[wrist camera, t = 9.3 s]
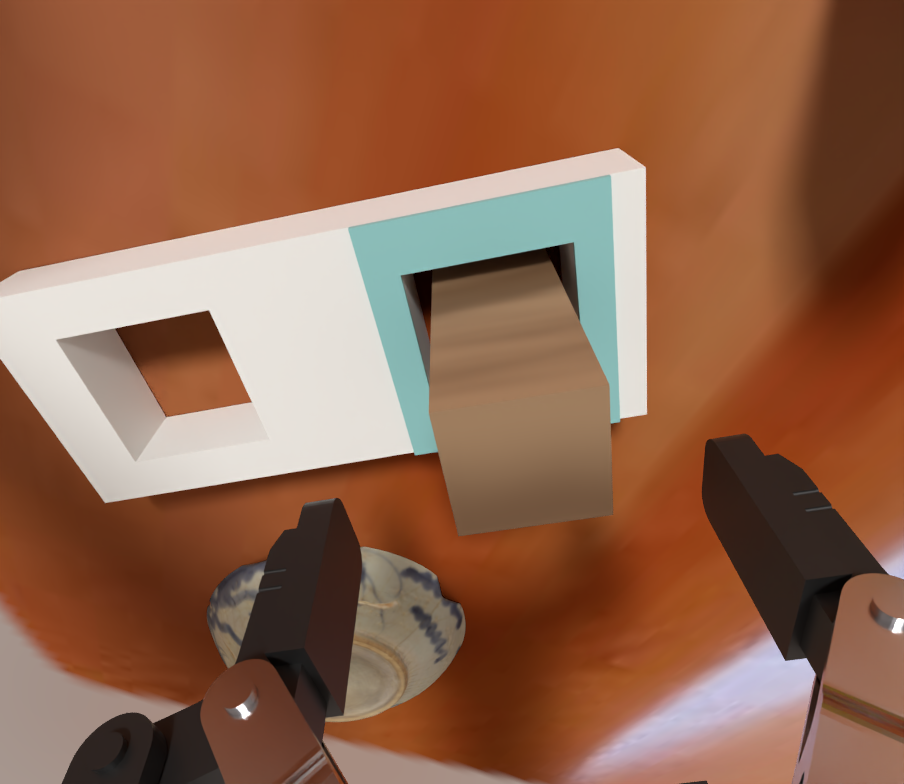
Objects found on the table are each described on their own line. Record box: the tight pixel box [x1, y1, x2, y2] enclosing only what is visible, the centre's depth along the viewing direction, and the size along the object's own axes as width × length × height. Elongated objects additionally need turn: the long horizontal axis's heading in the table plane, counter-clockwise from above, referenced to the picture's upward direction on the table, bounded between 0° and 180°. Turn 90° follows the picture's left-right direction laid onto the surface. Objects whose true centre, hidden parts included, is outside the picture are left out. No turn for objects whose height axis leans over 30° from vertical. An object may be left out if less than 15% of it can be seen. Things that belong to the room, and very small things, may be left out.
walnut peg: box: [429, 248, 613, 536], centre depth 18 cm, size 4×4×10 cm
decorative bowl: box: [207, 547, 466, 722], centre depth 32 cm, size 15×4×15 cm
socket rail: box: [0, 148, 647, 503], centre depth 21 cm, size 9×22×3 cm, turn 101°
